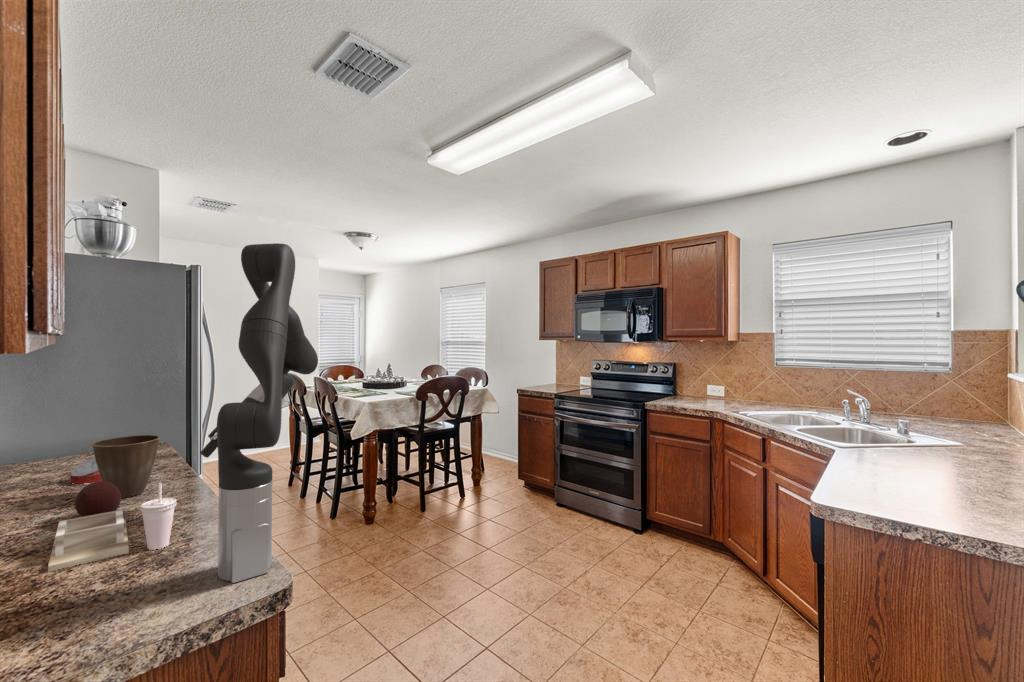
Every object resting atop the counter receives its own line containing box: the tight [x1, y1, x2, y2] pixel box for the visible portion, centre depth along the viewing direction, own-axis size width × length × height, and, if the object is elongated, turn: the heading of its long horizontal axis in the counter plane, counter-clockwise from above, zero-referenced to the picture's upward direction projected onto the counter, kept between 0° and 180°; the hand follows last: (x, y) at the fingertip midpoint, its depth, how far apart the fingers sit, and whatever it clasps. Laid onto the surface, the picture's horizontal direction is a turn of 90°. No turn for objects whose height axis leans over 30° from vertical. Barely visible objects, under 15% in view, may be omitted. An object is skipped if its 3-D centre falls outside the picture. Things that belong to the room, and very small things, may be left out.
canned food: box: [69, 455, 102, 484], centre depth 146 cm, size 11×10×10 cm
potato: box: [74, 481, 122, 517], centre depth 115 cm, size 9×12×9 cm
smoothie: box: [139, 482, 178, 551], centre depth 99 cm, size 6×6×14 cm
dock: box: [47, 509, 130, 573], centre depth 99 cm, size 20×12×5 cm, turn 42°
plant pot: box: [92, 434, 160, 499], centre depth 132 cm, size 15×15×16 cm
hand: (213, 457), depth 110 cm, fingers open, 8 cm apart
